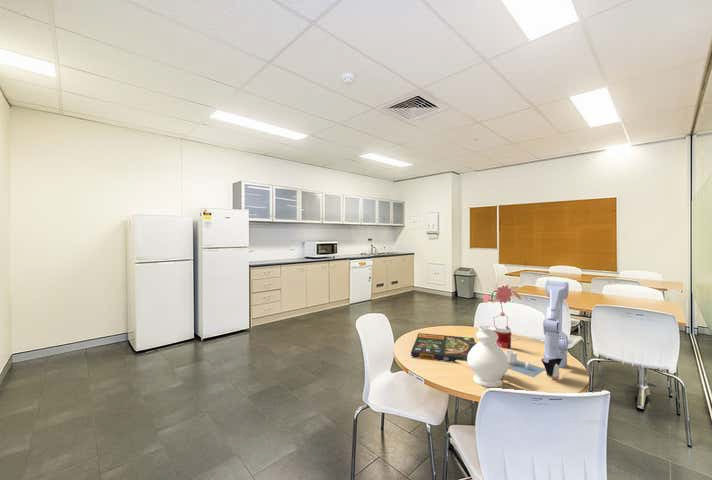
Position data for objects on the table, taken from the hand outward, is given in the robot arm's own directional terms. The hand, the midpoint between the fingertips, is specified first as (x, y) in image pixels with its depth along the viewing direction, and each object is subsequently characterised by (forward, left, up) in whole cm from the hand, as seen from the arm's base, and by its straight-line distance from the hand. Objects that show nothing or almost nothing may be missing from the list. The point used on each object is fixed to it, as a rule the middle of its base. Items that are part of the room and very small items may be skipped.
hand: (552, 373), depth 142 cm
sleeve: (0, 0, -2) cm, 2 cm away
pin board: (+2, -14, -2) cm, 14 cm away
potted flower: (-41, -43, -2) cm, 60 cm away
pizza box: (+9, -54, -3) cm, 55 cm away
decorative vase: (+26, -17, -2) cm, 32 cm away
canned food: (-20, -33, -2) cm, 39 cm away
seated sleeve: (+2, -18, -1) cm, 19 cm away
